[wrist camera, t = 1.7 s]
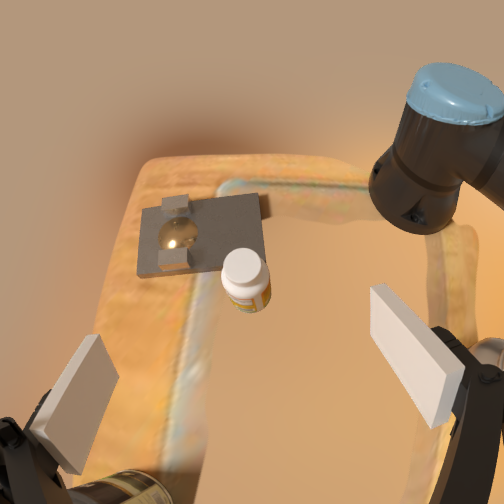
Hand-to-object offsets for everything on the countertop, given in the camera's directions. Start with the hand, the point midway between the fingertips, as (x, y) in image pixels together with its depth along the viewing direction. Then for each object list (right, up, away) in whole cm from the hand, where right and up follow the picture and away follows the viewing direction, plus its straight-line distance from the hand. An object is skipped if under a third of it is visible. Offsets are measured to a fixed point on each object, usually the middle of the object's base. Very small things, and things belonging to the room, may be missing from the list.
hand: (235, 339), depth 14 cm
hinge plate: (-7, +6, +32) cm, 33 cm away
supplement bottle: (+1, -2, +28) cm, 28 cm away
